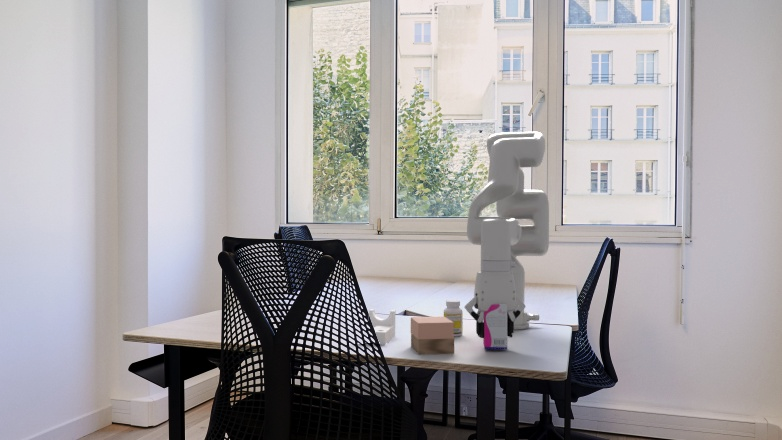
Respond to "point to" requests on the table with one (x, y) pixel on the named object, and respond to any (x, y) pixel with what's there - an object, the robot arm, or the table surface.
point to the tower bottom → (432, 346)
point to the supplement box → (495, 327)
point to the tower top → (432, 328)
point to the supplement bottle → (454, 315)
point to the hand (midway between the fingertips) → (494, 336)
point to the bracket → (383, 326)
